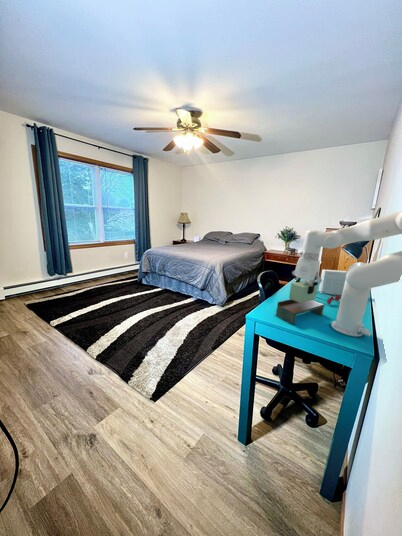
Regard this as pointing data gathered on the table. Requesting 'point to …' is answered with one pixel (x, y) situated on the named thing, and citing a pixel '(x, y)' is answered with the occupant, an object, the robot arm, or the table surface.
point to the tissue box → (302, 291)
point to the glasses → (331, 298)
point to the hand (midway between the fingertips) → (303, 290)
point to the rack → (297, 309)
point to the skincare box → (332, 282)
